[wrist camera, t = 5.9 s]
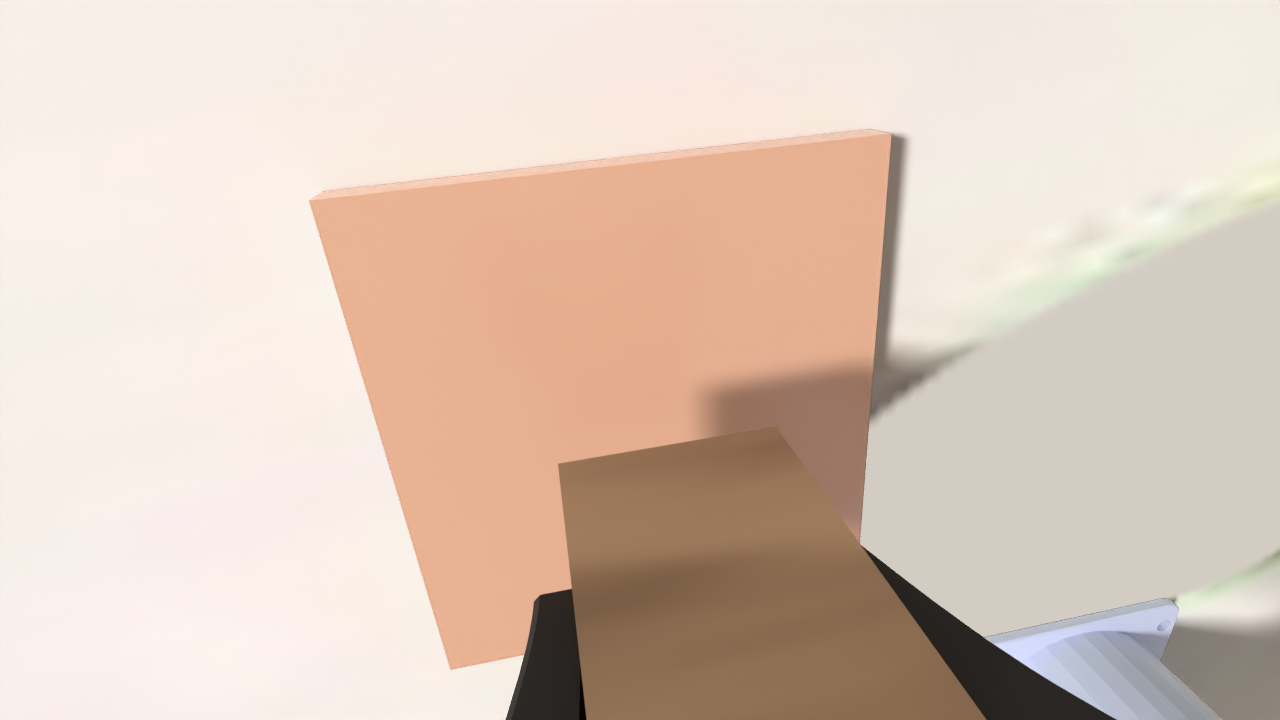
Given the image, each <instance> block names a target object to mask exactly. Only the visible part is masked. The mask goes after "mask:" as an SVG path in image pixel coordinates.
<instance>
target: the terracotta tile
mask: <svg viewBox="0 0 1280 720" xmlns="http://www.w3.org/2000/svg"><path fill="white" fill-rule="evenodd" d="M891 135H892V133H887V132H881V131H876V130H871V129H866V130H857V131H848V132H839V133H830V134H822V135H813V136H804V137H795V138H787V139H778V140H769V141H760V142H752V143H743V144H734V145H725V146H716V147H708V148H699V149H690V150H681V151H673V152H664V153H655V154H646V155H637V156H629V157H620V158H611V159H602V160H594V161H585V162H576V163H567V164H559V165H550V166H541V167H532V168H523V169H515V170H506V171H497V172H488V173H480V174H471V175H462V176H453V177H444V178H436V179H427V180H418V181H409V182H401V183H392V184H383V185H374V186H366V187H357V188H348V189H339V190H330V191H323V192H321V193H320V194H318V195H317V196H315V197H314V198H312V199H311V200H309V202H310V205H311V208H312V212H313V215H314V218H315V222H316V225H317V228H318V232H319V235H320V238H321V242H322V245H323V248H324V251H325V255H326V258H327V261H328V265H329V268H330V271H331V275H332V278H333V281H334V285H335V288H336V291H337V295H338V298H339V301H340V305H341V308H342V311H343V314H344V318H345V321H346V324H347V328H348V331H349V334H350V338H351V341H352V344H353V348H354V351H355V354H356V358H357V361H358V364H359V367H360V371H361V374H362V377H363V381H364V384H365V387H366V391H367V394H368V397H369V401H370V404H371V407H372V411H373V414H374V417H375V421H376V424H377V427H378V430H379V434H380V437H381V440H382V444H383V447H384V450H385V454H386V457H387V460H388V464H389V467H390V470H391V474H392V477H393V480H394V484H395V487H396V490H397V493H398V497H399V500H400V503H401V507H402V510H403V513H404V517H405V520H406V523H407V527H408V530H409V533H410V537H411V540H412V543H413V547H414V550H415V553H416V556H417V560H418V563H419V566H420V570H421V573H422V576H423V580H424V583H425V586H426V590H427V593H428V596H429V600H430V603H431V606H432V610H433V613H434V616H435V619H436V623H437V626H438V629H439V633H440V636H441V639H442V643H443V646H444V649H445V653H446V656H447V659H448V663H449V666H450V669H451V670H452V669H457V668H462V667H466V666H471V665H476V664H481V663H486V662H491V661H496V660H501V659H506V658H511V657H515V656H520V655H524V654H525V650H526V646H527V641H528V637H529V632H530V626H531V620H532V614H533V605H534V601H535V600H536V599H537V598H538V596H539V595H542V594H547V593H552V592H557V591H562V590H568V589H572V585H571V576H570V567H569V558H568V549H567V541H566V532H565V523H564V514H563V505H562V496H561V487H560V478H559V469H558V464H559V463H565V462H571V461H577V460H582V459H588V458H594V457H600V456H606V455H612V454H618V453H623V452H629V451H635V450H641V449H647V448H653V447H659V446H664V445H670V444H676V443H682V442H688V441H694V440H700V439H705V438H711V437H717V436H723V435H729V434H735V433H741V432H746V431H752V430H758V429H764V428H770V427H776V428H777V429H778V430H779V432H780V433H781V435H782V436H783V437H784V439H785V440H786V442H787V443H788V444H789V446H790V447H791V448H792V450H793V451H794V453H795V454H796V455H797V457H798V458H799V460H800V461H801V462H802V464H803V465H804V467H805V468H806V469H807V471H808V472H809V474H810V475H811V476H812V478H813V479H814V480H815V482H816V483H817V485H818V486H819V487H820V489H821V490H822V492H823V493H824V494H825V496H826V497H827V499H828V500H829V501H830V503H831V504H832V506H833V507H834V508H835V510H836V511H837V513H838V514H839V515H840V517H841V518H842V519H843V521H844V522H845V524H846V525H847V526H848V528H849V529H850V531H851V532H852V533H853V535H854V536H855V538H856V539H857V540H858V542H859V543H860V532H861V520H862V507H863V494H864V481H865V469H866V455H867V443H868V430H869V417H870V405H871V392H872V379H873V366H874V353H875V340H876V328H877V315H878V302H879V289H880V276H881V264H882V251H883V238H884V225H885V212H886V199H887V187H888V174H889V161H890V148H891Z"/></svg>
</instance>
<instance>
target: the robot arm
mask: <svg viewBox="0 0 1280 720" xmlns="http://www.w3.org/2000/svg"><path fill="white" fill-rule="evenodd" d="M862 547H863V546H862ZM863 549H864V550H865V551H866V553H867V554H868V556H869V557H870V558H871V560H872V561H873V563H874V564H875V565H876V567H877V568H878V570H879V571H880V572H881V574H882V575H883V577H884V578H885V579H886V581H887V582H888V583H889V585H890V586H891V588H892V589H893V590H894V592H895V593H896V595H897V596H898V597H899V599H900V600H901V602H902V603H903V604H904V606H905V607H906V609H907V610H908V611H909V613H910V614H911V615H912V617H913V618H914V620H915V621H916V622H917V624H918V625H919V627H920V628H921V629H922V631H923V632H924V634H925V635H926V636H927V638H928V639H929V641H930V642H931V643H932V645H933V646H934V647H935V649H936V650H937V652H938V653H939V654H940V656H941V657H942V659H943V660H944V661H945V663H946V664H947V666H948V667H949V668H950V670H951V671H952V673H953V674H954V675H955V677H956V678H957V679H958V681H959V682H960V684H961V685H962V686H963V688H964V689H965V691H966V692H967V693H968V695H969V696H970V698H971V699H972V700H973V702H974V703H975V705H976V706H977V707H978V709H979V710H980V711H981V713H982V714H983V716H984V717H985V718H986V720H1223V719H1222V718H1221V717H1220V716H1219V715H1218V714H1217V713H1216V712H1215V711H1213V710H1212V709H1211V708H1210V707H1209V706H1208V705H1207V704H1206V703H1205V702H1204V701H1203V700H1202V699H1201V698H1199V697H1198V696H1197V695H1196V694H1195V693H1194V692H1193V691H1192V690H1191V689H1190V688H1189V687H1188V686H1187V685H1185V684H1184V683H1183V682H1182V681H1181V680H1180V679H1179V678H1178V677H1177V676H1176V675H1175V674H1174V673H1173V672H1171V671H1170V670H1169V669H1168V668H1167V667H1166V666H1165V665H1164V664H1163V663H1162V662H1161V659H1162V656H1163V653H1164V651H1165V648H1166V645H1167V643H1168V640H1169V637H1170V635H1171V632H1172V629H1173V626H1174V624H1175V621H1176V618H1177V616H1178V612H1179V608H1178V606H1177V605H1176V604H1175V603H1173V602H1172V601H1171V600H1170V599H1167V598H1161V599H1156V600H1152V601H1147V602H1143V603H1138V604H1133V605H1129V606H1124V607H1120V608H1115V609H1111V610H1106V611H1102V612H1097V613H1093V614H1089V615H1083V616H1079V617H1075V618H1070V619H1065V620H1061V621H1056V622H1052V623H1047V624H1043V625H1038V626H1033V627H1029V628H1024V629H1020V630H1015V631H1011V632H1006V633H1002V634H997V635H993V636H988V637H982V636H981V635H980V634H978V633H977V632H975V631H974V630H972V629H971V628H970V627H968V626H967V625H965V624H964V623H963V622H961V621H960V620H959V619H957V618H956V617H954V616H953V615H952V614H950V613H949V612H948V611H946V610H945V609H943V608H942V607H941V606H939V605H938V604H937V603H935V602H934V601H932V600H931V599H930V598H929V597H927V596H926V595H925V594H923V593H922V592H921V591H919V590H918V589H917V588H915V587H914V586H913V585H911V584H910V583H909V582H908V581H906V580H905V579H904V578H902V577H901V576H900V575H898V574H897V573H896V572H895V571H893V570H892V569H891V568H889V567H888V566H887V565H886V564H884V563H883V562H882V561H880V560H879V559H878V558H877V557H875V556H874V555H873V554H871V553H870V552H869V551H868V550H866V549H865V548H864V547H863ZM506 720H587V719H586V710H585V701H584V692H583V683H582V674H581V665H580V656H579V647H578V639H577V630H576V621H575V612H574V603H573V594H572V589H568V590H562V591H557V592H552V593H547V594H542V595H539V596H538V598H537V599H536V600H535V601H534V605H533V614H532V620H531V626H530V632H529V637H528V641H527V646H526V650H525V654H524V658H523V662H522V666H521V670H520V674H519V677H518V681H517V684H516V687H515V691H514V694H513V697H512V701H511V704H510V707H509V711H508V714H507V717H506Z"/></svg>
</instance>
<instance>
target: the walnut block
mask: <svg viewBox="0 0 1280 720" xmlns="http://www.w3.org/2000/svg"><path fill="white" fill-rule="evenodd" d="M558 469H559V478H560V487H561V496H562V505H563V514H564V523H565V532H566V541H567V549H568V558H569V567H570V576H571V585H572V594H573V603H574V612H575V621H576V630H577V639H578V647H579V656H580V665H581V674H582V683H583V692H584V701H585V710H586V719H587V720H986V718H985V717H984V716H983V714H982V713H981V711H980V710H979V709H978V707H977V706H976V705H975V703H974V702H973V700H972V699H971V698H970V696H969V695H968V693H967V692H966V691H965V689H964V688H963V686H962V685H961V684H960V682H959V681H958V679H957V678H956V677H955V675H954V674H953V673H952V671H951V670H950V668H949V667H948V666H947V664H946V663H945V661H944V660H943V659H942V657H941V656H940V654H939V653H938V652H937V650H936V649H935V647H934V646H933V645H932V643H931V642H930V641H929V639H928V638H927V636H926V635H925V634H924V632H923V631H922V629H921V628H920V627H919V625H918V624H917V622H916V621H915V620H914V618H913V617H912V615H911V614H910V613H909V611H908V610H907V609H906V607H905V606H904V604H903V603H902V602H901V600H900V599H899V597H898V596H897V595H896V593H895V592H894V590H893V589H892V588H891V586H890V585H889V583H888V582H887V581H886V579H885V578H884V577H883V575H882V574H881V572H880V571H879V570H878V568H877V567H876V565H875V564H874V563H873V561H872V560H871V558H870V557H869V556H868V554H867V553H866V551H865V550H864V549H863V547H862V546H861V545H860V543H859V542H858V540H857V539H856V538H855V536H854V535H853V533H852V532H851V531H850V529H849V528H848V526H847V525H846V524H845V522H844V521H843V519H842V518H841V517H840V515H839V514H838V513H837V511H836V510H835V508H834V507H833V506H832V504H831V503H830V501H829V500H828V499H827V497H826V496H825V494H824V493H823V492H822V490H821V489H820V487H819V486H818V485H817V483H816V482H815V480H814V479H813V478H812V476H811V475H810V474H809V472H808V471H807V469H806V468H805V467H804V465H803V464H802V462H801V461H800V460H799V458H798V457H797V455H796V454H795V453H794V451H793V450H792V448H791V447H790V446H789V444H788V443H787V442H786V440H785V439H784V437H783V436H782V435H781V433H780V432H779V430H778V429H777V428H776V427H770V428H764V429H758V430H752V431H746V432H741V433H735V434H729V435H723V436H717V437H711V438H705V439H700V440H694V441H688V442H682V443H676V444H670V445H664V446H659V447H653V448H647V449H641V450H635V451H629V452H623V453H618V454H612V455H606V456H600V457H594V458H588V459H582V460H577V461H571V462H565V463H559V464H558Z"/></svg>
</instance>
